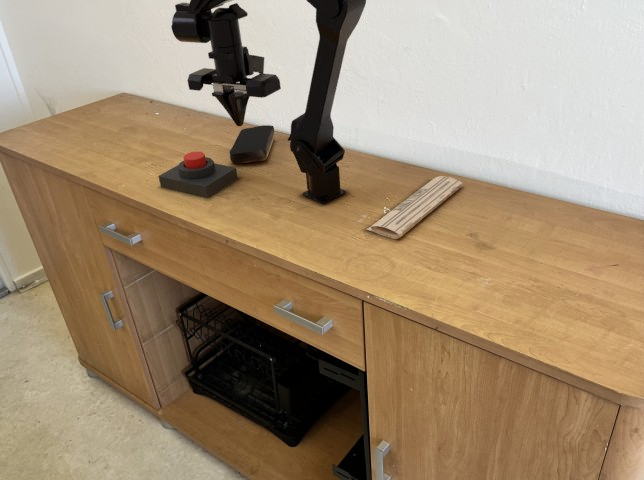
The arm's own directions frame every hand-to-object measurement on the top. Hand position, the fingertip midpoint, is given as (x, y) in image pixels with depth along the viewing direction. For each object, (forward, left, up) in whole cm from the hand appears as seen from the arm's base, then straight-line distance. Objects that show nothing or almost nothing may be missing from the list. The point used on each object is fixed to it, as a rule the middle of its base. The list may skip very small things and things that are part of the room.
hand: (240, 125), depth 124 cm
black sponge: (+11, -10, -12) cm, 19 cm away
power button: (+7, +8, -8) cm, 13 cm away
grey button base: (+7, +8, -12) cm, 16 cm away
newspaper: (-36, -12, -12) cm, 40 cm away
